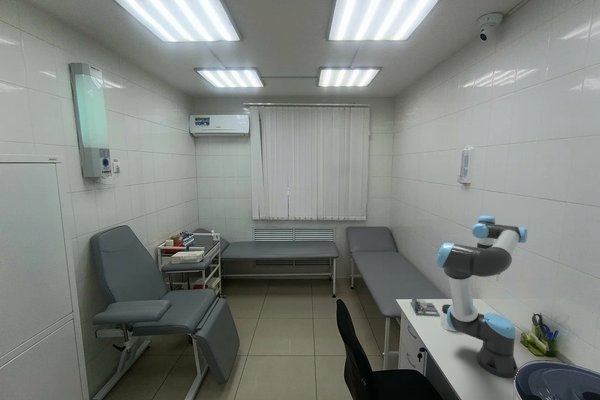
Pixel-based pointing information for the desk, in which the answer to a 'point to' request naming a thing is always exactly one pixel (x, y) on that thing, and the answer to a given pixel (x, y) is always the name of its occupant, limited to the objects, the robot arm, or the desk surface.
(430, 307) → the bench
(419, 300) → the block
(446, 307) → the jar
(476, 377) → the desk surface
